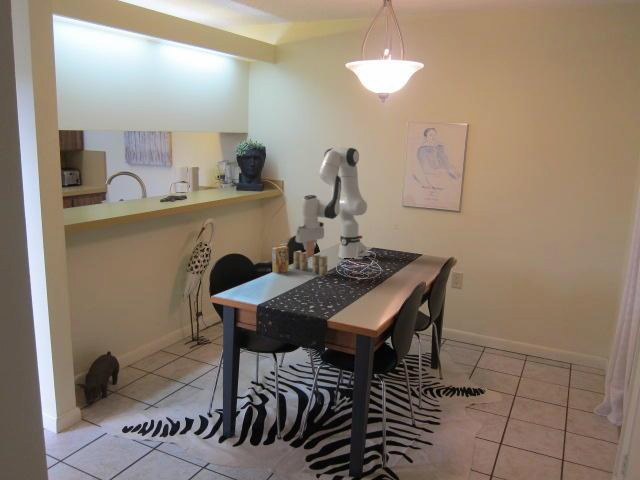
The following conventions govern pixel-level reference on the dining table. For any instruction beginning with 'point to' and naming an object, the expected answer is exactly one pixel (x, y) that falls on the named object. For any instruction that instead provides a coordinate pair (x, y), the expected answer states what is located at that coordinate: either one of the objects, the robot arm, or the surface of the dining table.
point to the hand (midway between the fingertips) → (309, 248)
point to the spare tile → (310, 249)
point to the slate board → (308, 272)
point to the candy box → (280, 259)
